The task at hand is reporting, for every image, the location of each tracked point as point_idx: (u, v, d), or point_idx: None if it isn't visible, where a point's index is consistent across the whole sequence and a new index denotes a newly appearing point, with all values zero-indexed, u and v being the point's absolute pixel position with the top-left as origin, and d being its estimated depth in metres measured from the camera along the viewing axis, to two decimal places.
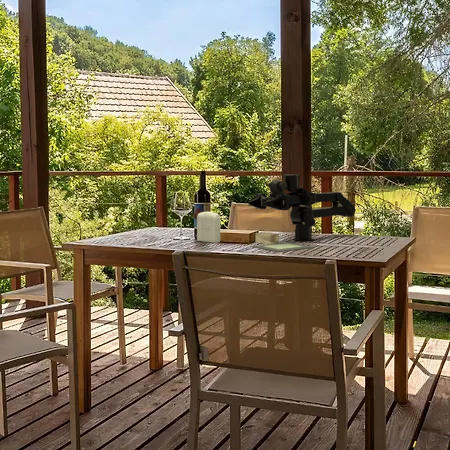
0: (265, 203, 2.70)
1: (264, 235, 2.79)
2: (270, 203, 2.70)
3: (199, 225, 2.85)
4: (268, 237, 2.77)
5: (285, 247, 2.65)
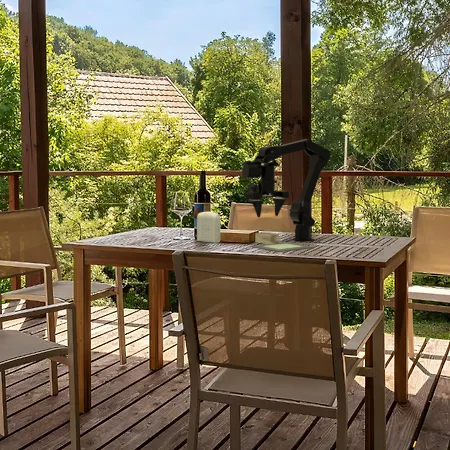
0: (257, 215, 2.78)
1: (264, 235, 2.79)
2: (256, 210, 2.77)
3: (199, 225, 2.85)
4: (268, 237, 2.77)
5: (285, 247, 2.65)
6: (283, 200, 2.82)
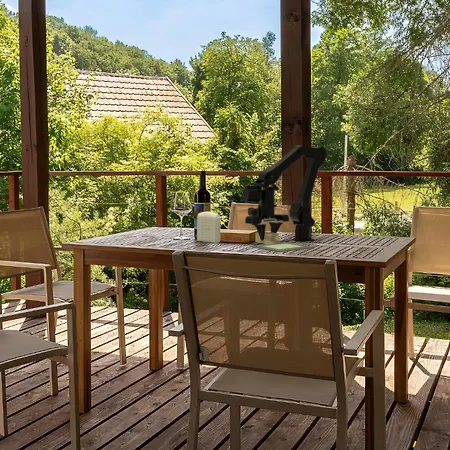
0: (261, 238, 2.80)
1: None
2: (260, 234, 2.80)
3: (199, 225, 2.85)
4: (268, 236, 2.77)
5: (285, 247, 2.65)
6: (279, 224, 2.81)
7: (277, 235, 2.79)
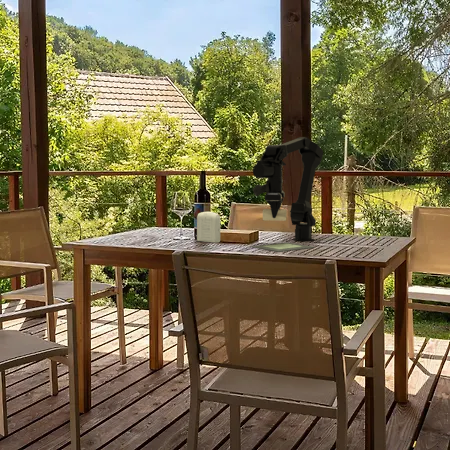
0: (273, 215, 2.71)
1: None
2: (274, 211, 2.70)
3: (199, 225, 2.85)
4: (283, 213, 2.71)
5: (285, 247, 2.65)
6: (282, 200, 2.77)
7: (286, 211, 2.75)
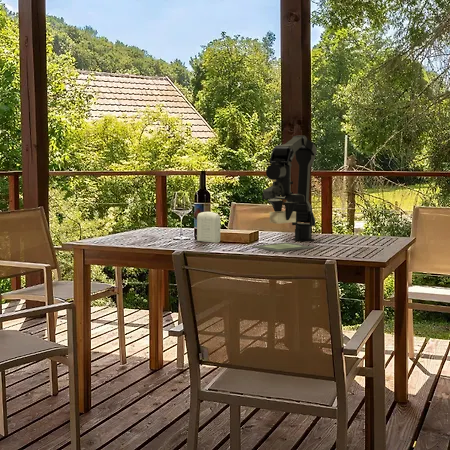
0: (287, 217, 2.65)
1: None
2: (289, 213, 2.64)
3: (199, 225, 2.85)
4: (294, 214, 2.67)
5: (285, 247, 2.65)
6: None
7: None
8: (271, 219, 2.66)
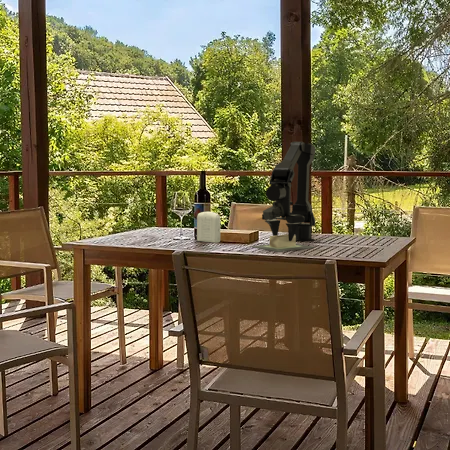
0: (290, 238, 2.64)
1: None
2: (292, 233, 2.64)
3: (199, 225, 2.85)
4: (294, 238, 2.68)
5: (285, 247, 2.65)
6: None
7: None
8: (271, 243, 2.67)
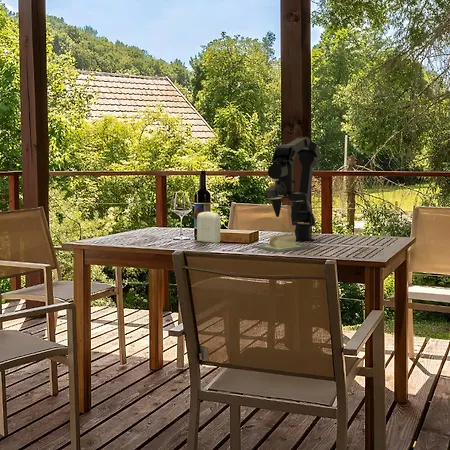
0: (293, 216, 2.67)
1: (289, 237, 2.67)
2: (295, 211, 2.67)
3: (199, 225, 2.85)
4: (294, 238, 2.68)
5: (285, 247, 2.65)
6: None
7: None
8: (271, 243, 2.67)
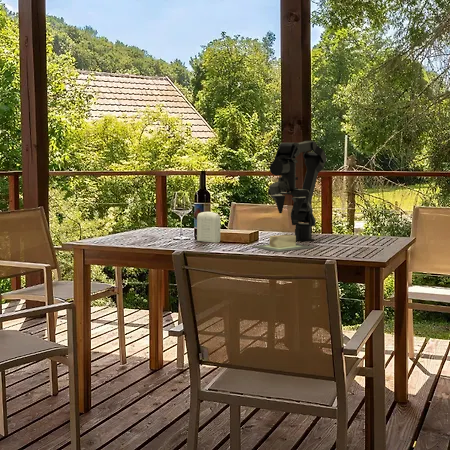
0: (296, 212, 2.73)
1: (289, 237, 2.67)
2: (297, 208, 2.72)
3: (199, 225, 2.85)
4: (294, 238, 2.68)
5: (285, 247, 2.65)
6: None
7: None
8: (271, 243, 2.67)
